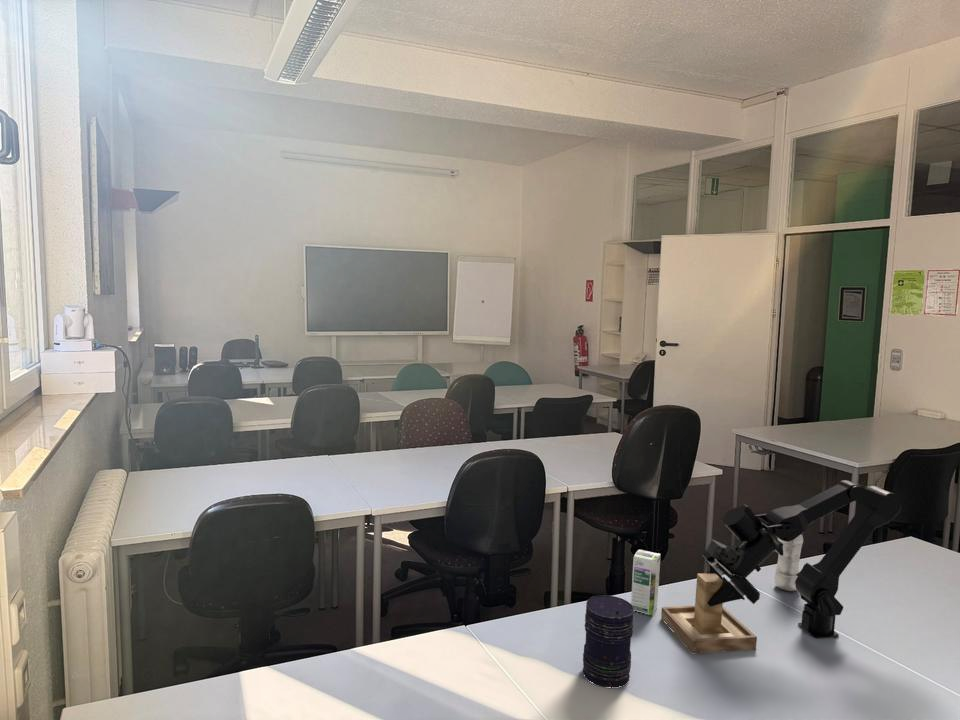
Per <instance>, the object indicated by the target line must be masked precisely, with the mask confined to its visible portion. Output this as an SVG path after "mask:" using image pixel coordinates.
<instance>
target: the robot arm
mask: <svg viewBox="0 0 960 720" xmlns="http://www.w3.org/2000/svg"><path fill="white" fill-rule="evenodd" d="M853 502H855V511H854V515H853V517H852V518H851V520H850V521H849V522H848V524H847V525H846V526H845V528H844V529H843V530H842V531H841V533H840V534H839V536H838V537H837V538H836V540H835V541H834V542H833V543H832V545H831V546H830V547H829V549H828V550H827V551H826V553H825V554H824V555H823V557H822V558H821V559H820V560H819V561H818V562H817V563H814V564H813V565H811V564H810V563H809V562H806V563H805V564H804V565H803V566H802V568H801V570H799V573H798V574H796V576H798V577H797V579H796V580H795V585H796V589H797V590H796V591H797V593H798V594H799V596H800V599H801V600H803V601H804V602H806V603H804V606H803V610H802V614H801V622H798V623H797V626H799V627H800V628H801V629H802V630H804V631H805V632H806V633H808V634H809V635H810V636H811V637H813V638H814V639H824V638H825V639H827V638H828V639H829V638H839V636H840V635H839V633H838V632H836V631H835V625H836V616H840V615H841V614H842V612H843V609H844V606H843V604H841V603H840V601H839V600H838V599H837V598H836V597H835V596H836V594H837V592H838V590H839V582H840V581H839V580H840V576H841V575H842V574H843V572H844V571H845V569H846V567H848V565H849V564H850V563H851V561H852V560H853V559H854V557H855V556H856V555H857V553H858V552H859V551H860V549H861V548H862V547H863V545H864V544H865V543H866V541H867V540H869V538H870V536H871V535H872V534H873V532H874V531H875V530H876V529H877V528H879V527H882V526H884V525H886V524H889V523H890V522H891V521H892V520H893V519H894V518H895V517H896V516H897V515H899V513H900V512H901V510H902V504H901V499H900V497H899V496H898V495H897V494H895V493H893V492H891V491H888V490H885V489H884V488H881V487H879V486H876V485H871V486H864V485H860V484H858V483H854V482H852V481H850V480H848V479H847V480H846V479H845V480H840V481H838V482H837V484H836V485H833V486H832V487H830V488H828V489H826V490H823V491H822V492H819V493H818V494H816V495H814V496H812V497H810V498H809V499H806V500H804V501H802V502H800V503H797V504H795V505H789V506H787V505H786V506H780V507H778V508H775V509H771V510H769V511H768V512H767V513H763V514H756V515H755V514H754V512H753V510H752V509H751V507H750V506H748V505H746V504H744V503H743V504H742V505H741V506H738V507H737V506H736V507H734V508H732V509H729V510H728V511H726V513H725V514H724V515H723V519H722V523H723V524H724V526H725V527H726V528H727V529H728V530H729V531H730V532H731V533H732V534H733V535H734V536H735V537H736V539H737V540H738V541H739V542H742V544H740V545H739V546H738V545H737V544H733V545H732V546H730V545H726V544H724V543H721V542H720V541H717V540H715V539H711V540H710V541H709V544H708V546H707V548H706V549H705V550H704V551H702V553H701V555H702V557H703V558H705V565H706V572H705V574H710V573H715V574H717V575H718V576H719V577H720V578H721V579H722V580H723V582H722V586H721V587H720V588H719V589H718V590H717V592H716V593H715V594H714V595H713V596H712V597H711V598H710V600H709V601H708V602H707V604H708V605H709V606H715V605H718V604H722V603H723V604H725V603H728V602H733V601H738V600H743V601H744V600H746V599H747V600H748V601H749V602H750V603H751V604H752V605H755V604H756V603H757V602H758V601H759V600H760V599H761V598H760V597H761V592H760V591H758V589H756V587H755V586H754V585H753V584H752V583H751V582H750V580H748V579H747V578H748V576H750V575H751V574H752V573H753V572H754V571H756V572H757V573H759V572H760V571H761V570H762V567H760V565H761V564H762V563H763V562H765V560H766V559H768V558H769V556H770V555H772V554H773V553H774V552H775V553H777V554H778V555H779V554H780V555H781V556H782V555H783V543H781V542H780V541H778V538H779V539H781V540H783V541H786V542H789V541H792V540H794V539H795V538H797V537H798V536H800V535H801V534H802V535H803V534H804V533H805V531H806V530H807V529H808V526H809V525H811V524H812V523H814V522H816V521H818V520H819V519H821V518H824V517H825V516H828V515H830V514H831V513H833V512H835V511H837V510H839V509H841V508H844V507H845V506H847V505H849V504H851V503H853ZM762 530H764V532H763V531H762ZM773 536H774V537H776V538H777V540H776V539H775V538H773ZM724 575H725V576H726V577H727V578H728V579H729V580H728V579H727V578H726V577H724ZM745 597H746V598H745Z"/></svg>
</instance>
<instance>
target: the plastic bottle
mask: <svg viewBox="0 0 960 720" xmlns="http://www.w3.org/2000/svg"><path fill="white" fill-rule="evenodd" d="M777 540H778V541H780V542H781V543H783V555H782V556H781V555H780V554H778V556H777V557H778V558H777V563H776V569H775V572H774V576H773V579H774V581H773V582H774V584H775V586H776V587H777V588H778V589H781V590H783V591H786V592H795V591H797V589H796V585H795V580H796V579H797V577H798V576H796V574H798V573H799V572H800V558H801V551H802V547H803V543H804V537H803V533H802V534H801V535H800V536H798V537H797V538H795V539H794V540H792V541H789V542H786V541H783V540H781V539H779V538H778V537H777Z"/></svg>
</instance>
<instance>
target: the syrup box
mask: <svg viewBox="0 0 960 720" xmlns="http://www.w3.org/2000/svg"><path fill="white" fill-rule="evenodd" d="M633 555H634V556H633V558H632V559H633V560H632V561H633V563H632V580H631V582H632V583H631V598H630V604H631V605H632V606H633V608H634V612H635V611H637V612H636V613H638V612H641V613H640V614H642V613H645V614H644V615H646V614H649V615H653V616H654V614H655V612H656V610H657V608H658V600H659V599H658V597H659V584H660V570H661V569H660V567H661V553H659V552H658V553H657V552H652V551H648V550H644V549H638V550H637V551H636V552H635V554H633ZM649 615H648V616H649Z"/></svg>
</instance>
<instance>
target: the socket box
mask: <svg viewBox="0 0 960 720" xmlns="http://www.w3.org/2000/svg"><path fill="white" fill-rule="evenodd" d="M694 612H695V605H679V606H663V607H661V612H660V614H661V615H660V616H661V617H660V619H661V618H662V619H663V620H664V621H665V622H666V623H667V625H668V626H669V627H670V628H671V629H672V630H673V631H674V633H675V634H676V635H677V636H678V637H679V638H678V637H677V636H676V635H675V634H674V633H673V634H674V635H675V636H676V637H677V638H678V639H680V640H681V641H682V642H683V643H684V644H685V645H686V646H687V647H686V646H685V645H684V644H683V643H682V642H681V643H682V644H683V645H684V646H685V647H686V648H687V650H688V649H689V650H690V651H691V652H692V653H697V654H706V653H705V652H712V653H723V652H722V651H727V652H740V651H751V650H757V641H758V637H757V635H756V634H755V633H753V632H752V631H751V630H750V629H749V628H748V627H747V626H745V625H744V624H743V623H742V622H741V621H740V620H738V618H736V617H735V616H734V615H733V614H732V613H731V612H730V611H729V610H727V609H726V608H725V607H724V606H722V619H721V632H722V633H721V632H720V634H705V635H700V634H699V633H698V632H697V631H696V630H695V629H694V628H693V626H692V625H694ZM662 619H661V620H662ZM663 620H662V621H663ZM667 625H666V626H667ZM668 626H667V627H668ZM669 627H668V628H669ZM670 628H669V629H670ZM671 629H670V630H671ZM680 640H679V641H680ZM689 650H688V651H689ZM690 651H689V652H690ZM691 652H690V653H691ZM701 652H702V653H701ZM692 653H691V654H692Z"/></svg>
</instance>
